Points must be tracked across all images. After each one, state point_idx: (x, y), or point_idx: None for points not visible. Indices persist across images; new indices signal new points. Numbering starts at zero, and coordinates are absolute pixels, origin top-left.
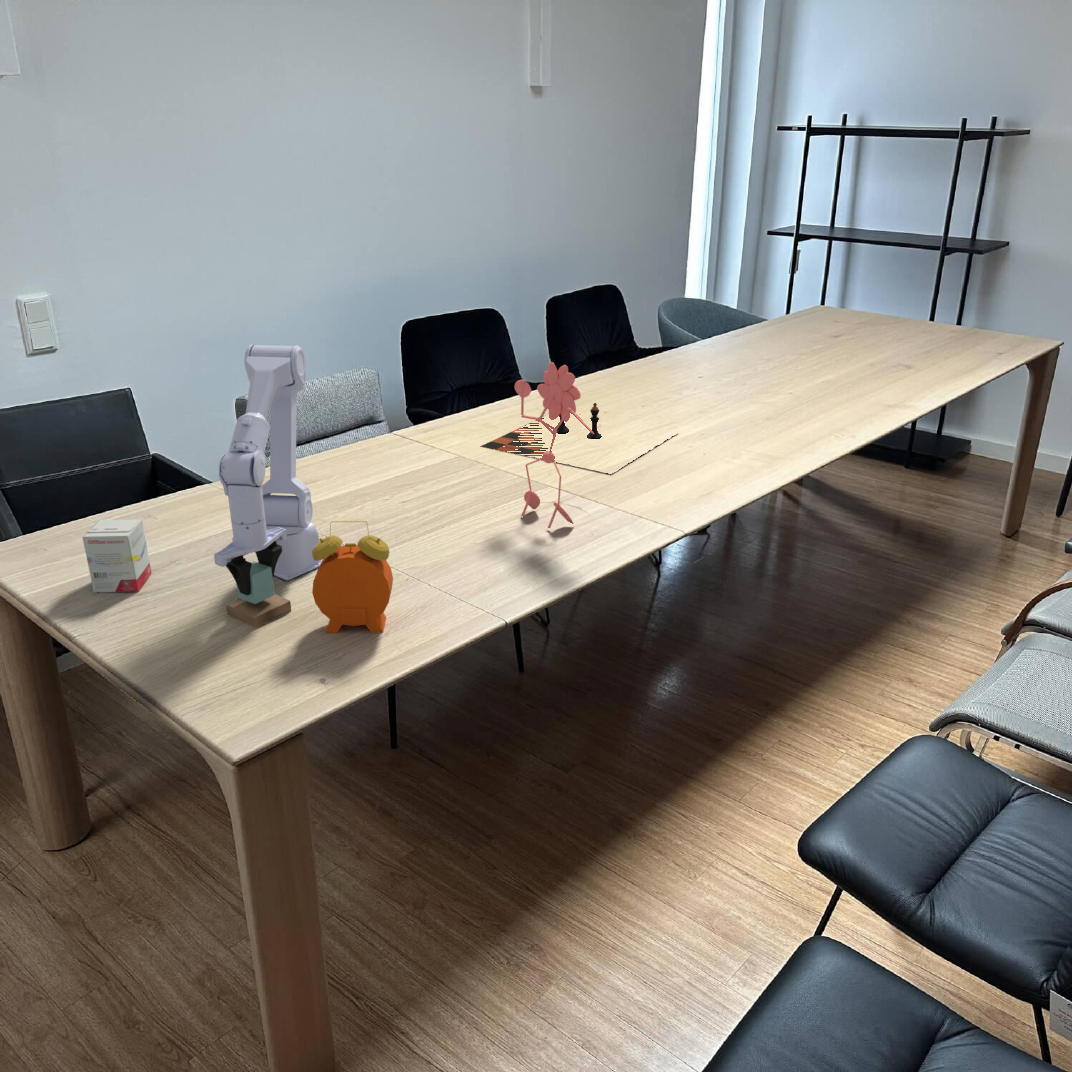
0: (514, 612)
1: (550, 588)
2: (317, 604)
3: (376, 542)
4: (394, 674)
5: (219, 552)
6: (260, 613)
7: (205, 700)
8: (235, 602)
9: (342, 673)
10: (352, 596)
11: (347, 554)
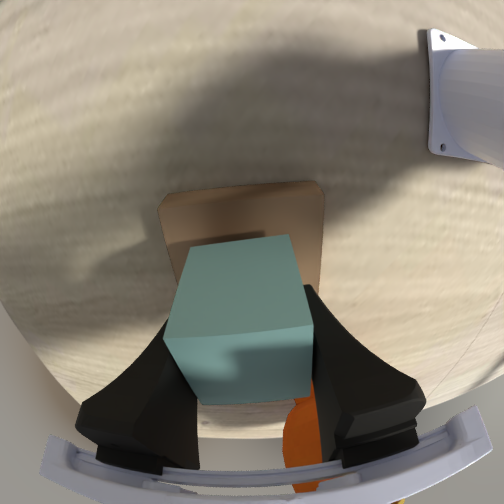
0: (426, 407)
1: (472, 386)
2: (285, 427)
3: None
4: (270, 437)
5: (61, 483)
6: None
7: (75, 377)
8: (188, 221)
9: (231, 425)
10: None
11: None
